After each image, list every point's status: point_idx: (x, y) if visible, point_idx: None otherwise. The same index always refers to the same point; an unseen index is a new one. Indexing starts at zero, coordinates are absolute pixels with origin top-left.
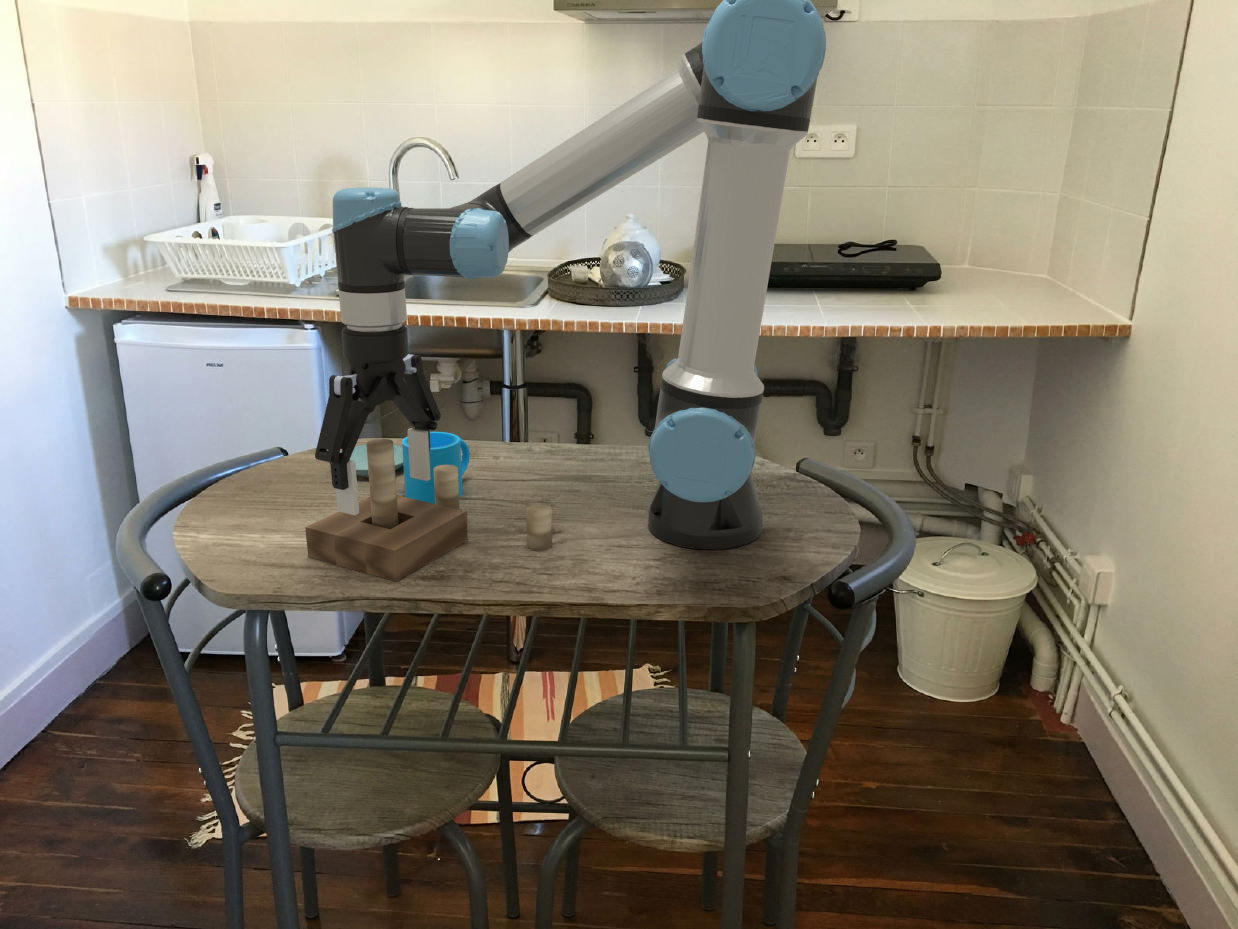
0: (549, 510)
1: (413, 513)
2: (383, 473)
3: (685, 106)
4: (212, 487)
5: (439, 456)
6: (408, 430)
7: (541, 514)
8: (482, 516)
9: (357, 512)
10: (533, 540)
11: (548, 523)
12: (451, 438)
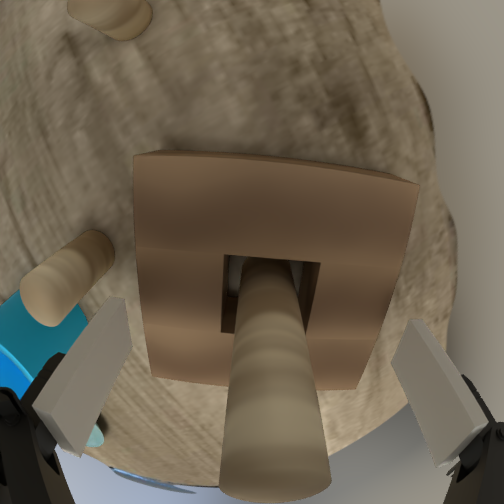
0: None
1: (210, 267)
2: (309, 383)
3: None
4: (209, 484)
5: (18, 342)
6: (79, 453)
7: None
8: (63, 196)
9: (416, 321)
10: (144, 7)
11: None
12: None
